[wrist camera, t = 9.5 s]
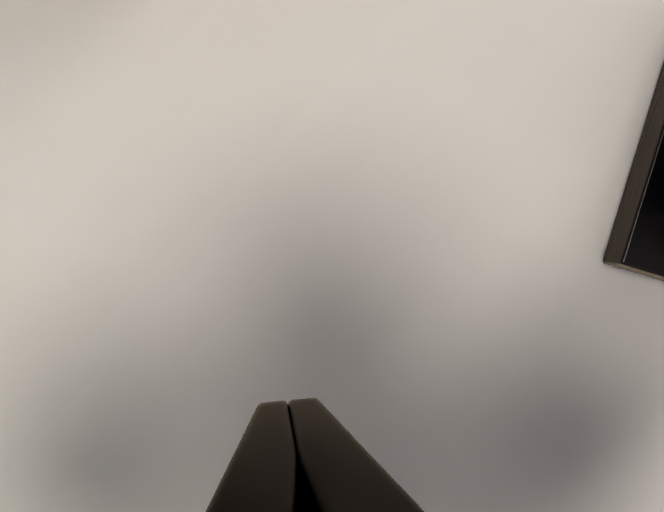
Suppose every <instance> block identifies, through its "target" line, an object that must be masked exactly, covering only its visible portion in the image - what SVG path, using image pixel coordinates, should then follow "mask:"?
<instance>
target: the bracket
mask: <svg viewBox="0 0 664 512" xmlns="http://www.w3.org/2000/svg"><path fill="white" fill-rule="evenodd" d="M604 262H605V263H607V264H610V265H613V266H617V267H620V268H623V269H627V270H630V271H633V272H636V273H640V274H643V275H646V276H650V277H653V278H656V279H660V280H663V281H664V66H663V69H662V73H661V76H660V79H659V82H658V86H657V89H656V92H655V95H654V99H653V102H652V105H651V108H650V112H649V115H648V118H647V121H646V125H645V128H644V131H643V134H642V138H641V141H640V144H639V147H638V151H637V154H636V157H635V160H634V164H633V167H632V170H631V173H630V177H629V180H628V183H627V186H626V190H625V193H624V196H623V199H622V203H621V206H620V209H619V212H618V216H617V219H616V222H615V225H614V229H613V232H612V235H611V238H610V242H609V245H608V248H607V251H606V255H605V258H604Z"/></svg>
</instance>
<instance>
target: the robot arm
mask: <svg viewBox="0 0 664 512" xmlns="http://www.w3.org/2000/svg"><path fill="white" fill-rule="evenodd" d="M206 512H424V511H423V510H422V509H421V508H420V507H419V505H418V504H417V503H416V502H415V501H414V500H413V499H412V498H411V497H410V496H409V495H408V494H407V493H406V492H405V491H404V490H403V489H402V488H401V487H400V485H399V484H398V483H397V482H396V481H395V480H394V479H393V478H392V477H391V476H390V475H389V474H388V473H387V472H386V471H385V470H384V469H383V468H382V467H381V466H380V464H379V463H378V462H377V461H376V460H375V459H374V458H373V457H372V456H371V455H370V454H369V453H368V452H367V451H366V450H365V449H364V448H363V447H362V446H361V444H360V443H359V442H358V441H357V440H356V439H355V438H354V437H353V436H352V435H351V434H350V433H349V432H348V431H347V430H346V429H345V428H344V427H343V426H342V424H341V423H340V422H339V421H338V420H337V419H336V418H335V417H334V416H333V415H332V414H331V413H330V412H329V411H328V410H327V409H326V408H325V407H324V406H323V405H322V403H321V402H320V401H319V400H318V399H316V398H306V399H296V400H291V401H290V402H289V404H287V403H286V402H285V401H275V402H265V403H261V404H259V405H258V407H257V408H256V410H255V412H254V414H253V416H252V418H251V421H250V423H249V425H248V427H247V429H246V431H245V433H244V435H243V437H242V439H241V441H240V443H239V445H238V447H237V449H236V451H235V453H234V455H233V457H232V459H231V461H230V463H229V465H228V467H227V469H226V471H225V473H224V475H223V477H222V479H221V481H220V483H219V485H218V487H217V489H216V491H215V494H214V496H213V498H212V500H211V502H210V504H209V506H208V508H207V510H206Z"/></svg>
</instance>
